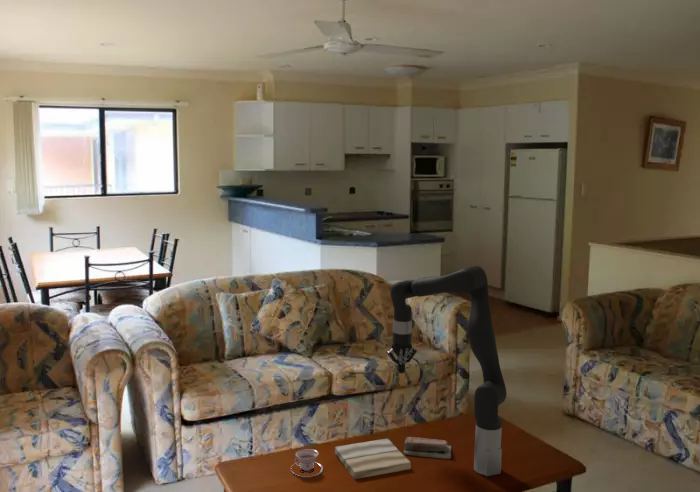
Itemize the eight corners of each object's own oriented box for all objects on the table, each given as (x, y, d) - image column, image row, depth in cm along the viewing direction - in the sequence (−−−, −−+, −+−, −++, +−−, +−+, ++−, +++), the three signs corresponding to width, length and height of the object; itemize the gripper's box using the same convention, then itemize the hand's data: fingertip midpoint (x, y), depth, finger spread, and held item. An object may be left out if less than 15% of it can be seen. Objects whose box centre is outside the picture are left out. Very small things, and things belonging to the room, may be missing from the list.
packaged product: (403, 444, 256) (405, 433, 266) (403, 456, 257) (405, 444, 267) (451, 448, 253) (451, 436, 263) (450, 460, 254) (451, 448, 264)
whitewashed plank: (397, 455, 255) (398, 449, 255) (343, 465, 247) (344, 459, 247) (387, 443, 264) (387, 438, 264) (334, 452, 256) (335, 446, 256)
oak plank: (410, 468, 246) (410, 462, 245) (354, 479, 238) (354, 472, 237) (398, 456, 255) (398, 450, 255) (344, 466, 247) (344, 459, 246)
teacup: (317, 460, 252) (317, 444, 251) (328, 474, 241) (328, 458, 240) (286, 465, 247) (286, 449, 247) (295, 480, 236) (295, 464, 236)
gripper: (391, 334, 260) (390, 377, 262) (421, 331, 265) (420, 374, 267) (383, 329, 267) (382, 371, 269) (412, 326, 272) (411, 368, 274)
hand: (401, 372), depth 268 cm, fingers closed
